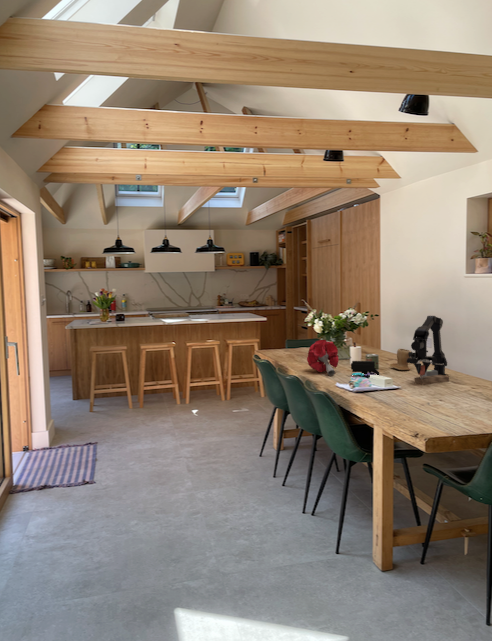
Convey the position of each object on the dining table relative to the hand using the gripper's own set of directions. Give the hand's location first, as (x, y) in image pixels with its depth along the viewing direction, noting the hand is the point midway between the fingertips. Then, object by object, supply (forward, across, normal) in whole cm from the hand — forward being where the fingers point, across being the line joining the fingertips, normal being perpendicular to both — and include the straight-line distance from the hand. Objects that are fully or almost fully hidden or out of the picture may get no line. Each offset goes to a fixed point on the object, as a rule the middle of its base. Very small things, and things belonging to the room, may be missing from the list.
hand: (421, 373), depth 316 cm
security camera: (+6, +18, -34) cm, 39 cm away
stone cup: (+6, -19, -43) cm, 48 cm away
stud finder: (+6, -15, -10) cm, 19 cm away
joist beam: (+6, -8, 0) cm, 10 cm away
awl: (+4, 0, 0) cm, 4 cm away
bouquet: (+6, +36, -58) cm, 69 cm away
